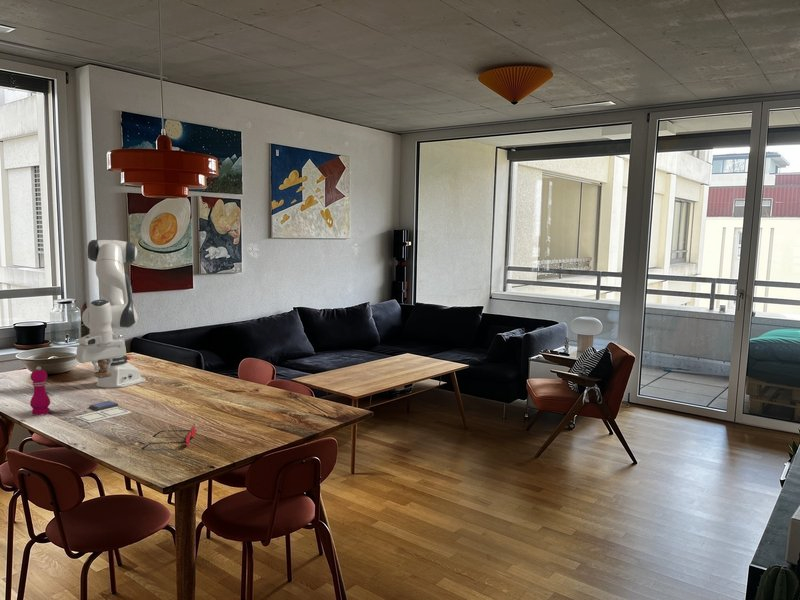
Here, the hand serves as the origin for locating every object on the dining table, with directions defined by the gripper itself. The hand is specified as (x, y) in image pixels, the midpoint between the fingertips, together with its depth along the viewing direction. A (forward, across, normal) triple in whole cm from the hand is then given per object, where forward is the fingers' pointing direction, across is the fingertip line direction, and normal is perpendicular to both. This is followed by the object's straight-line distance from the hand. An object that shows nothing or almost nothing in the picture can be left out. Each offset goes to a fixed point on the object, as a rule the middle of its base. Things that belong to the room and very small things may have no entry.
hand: (102, 369), depth 261 cm
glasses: (+17, +8, +60) cm, 63 cm away
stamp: (+3, 0, 0) cm, 3 cm away
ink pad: (+17, 0, 0) cm, 17 cm away
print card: (+16, +6, +11) cm, 21 cm away
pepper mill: (+17, +21, -11) cm, 29 cm away
